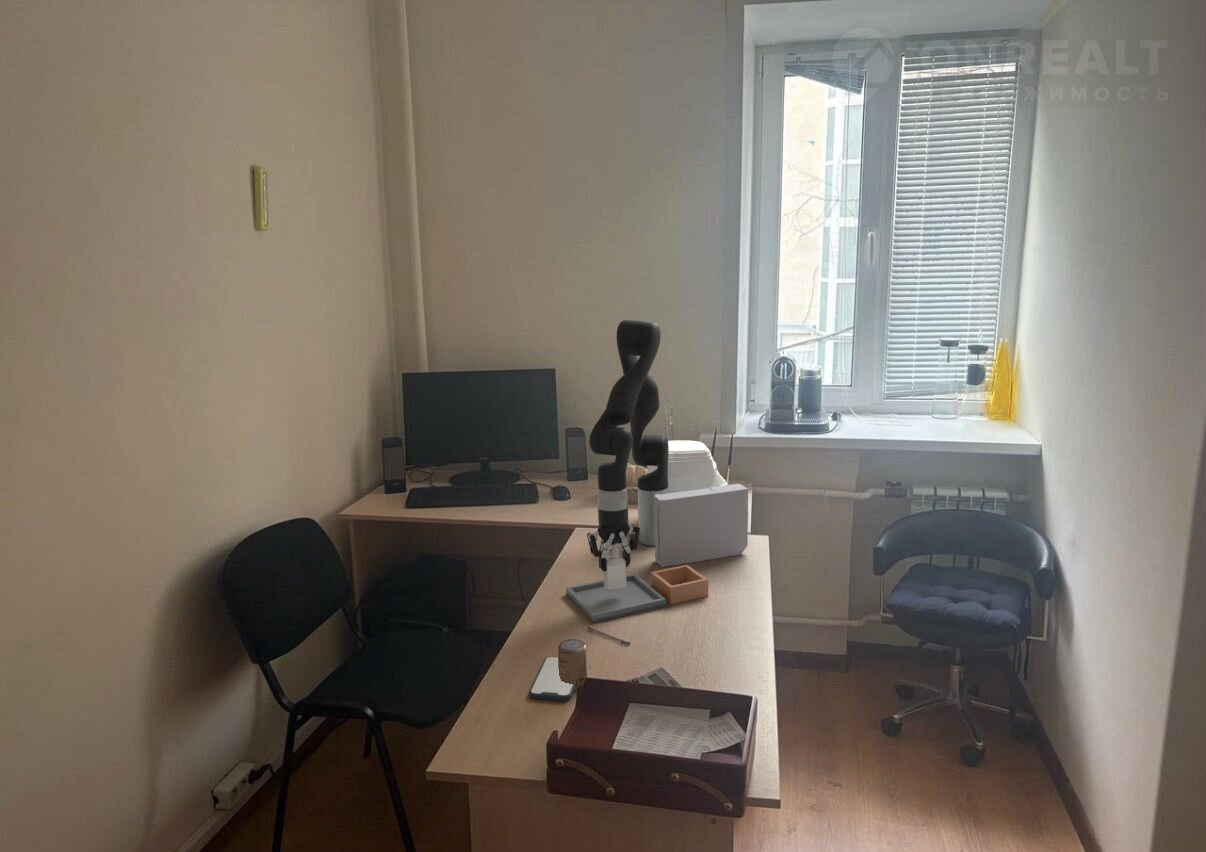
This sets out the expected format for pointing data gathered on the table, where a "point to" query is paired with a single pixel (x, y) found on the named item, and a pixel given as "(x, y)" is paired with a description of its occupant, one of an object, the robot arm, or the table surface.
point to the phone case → (550, 683)
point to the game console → (700, 524)
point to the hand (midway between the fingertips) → (614, 567)
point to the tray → (615, 599)
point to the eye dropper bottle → (615, 571)
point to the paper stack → (690, 467)
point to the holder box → (680, 592)
